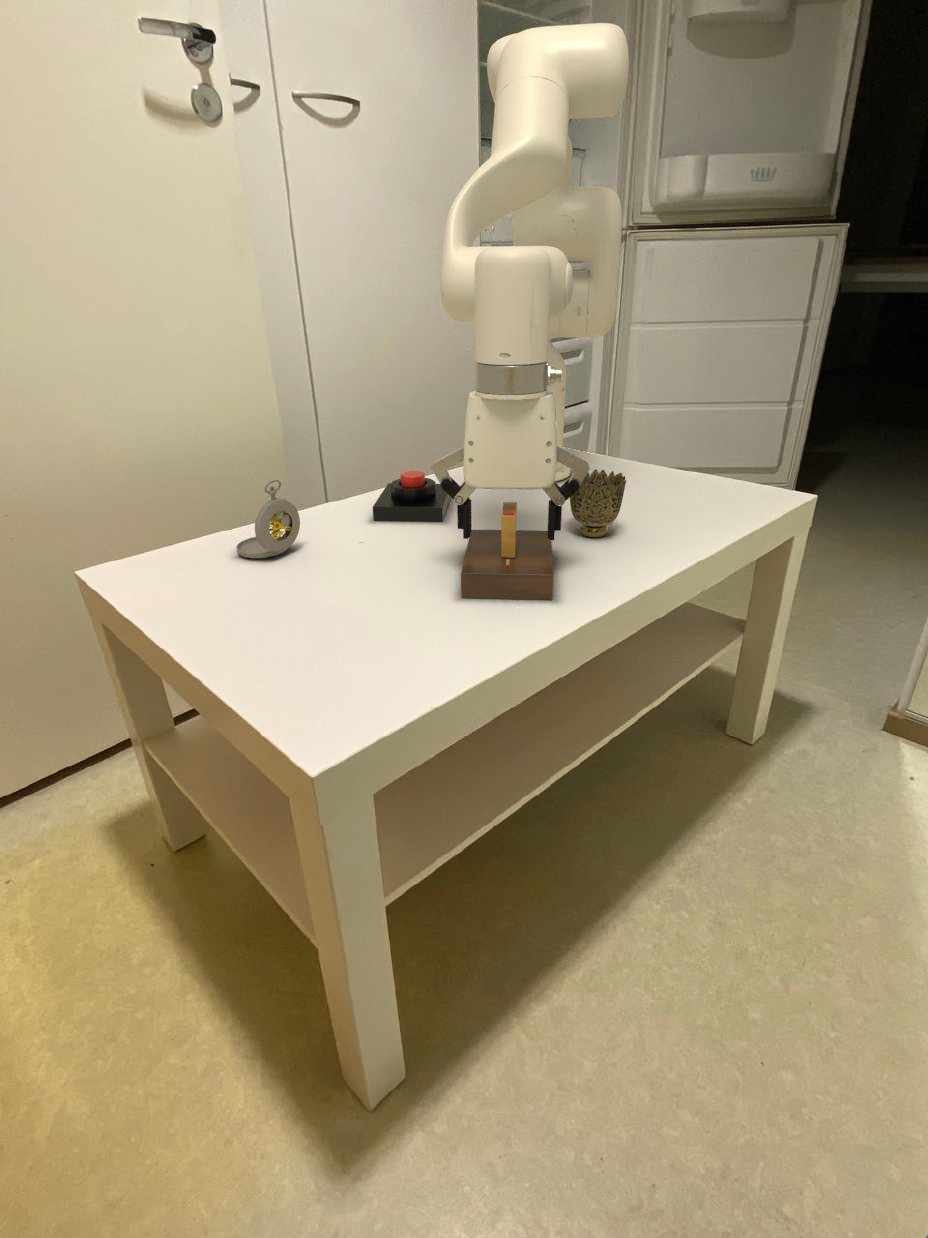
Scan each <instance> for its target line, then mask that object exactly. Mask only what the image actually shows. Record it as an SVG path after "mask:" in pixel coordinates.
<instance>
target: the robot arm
mask: <svg viewBox="0 0 928 1238" xmlns="http://www.w3.org/2000/svg"><path fill="white" fill-rule="evenodd" d="M626 37H627V36H626V35H625V33H624V30H623V29H622V28H621V27H620V26H619V25H618V24H615V23H609V22H593V23H592V22H591V23H580V24H563V25H562V24H561V25H548V26H547V25H545V26H537V27H532V28H531V27H530V28H527V29H524V30H521V31H519V32H516V33H512V34H508V35H506V36H505V35H504V36H502V37H501V38H499V39H497V40H496V41H495V42H494V43H493V44H492V45H491V46H490V48H489V51H488V53H487V58H486V59H487V60H486V72H487V81H488V86H489V90H490V93H491V96H492V101H493V104H494V112H493V123H492V124H493V125H492V136H491V151H490V152H491V153H490V157H489V158H488V159H487V160H486V161H484V163H483V164H482V165H480V166H479V167H478V169H477V170H476V171H475V172H473V174H472V175H470V177H469V179H468V180H467V181H466V182H465V184H464V185H463V186H462V187H461V189H460V190H459V192H458V194H457V195H456V197H455V199H454V200H453V202H452V204H451V206H450V209H449V211H448V214H447V216H446V219H445V225H444V231H443V239H442V241H443V242H442V249H441V260H440V261H441V262H440V271H439V272H440V273H439V290H440V291H439V292H440V299H441V303H442V305H443V308H444V310H445V312H446V314H447V315H448V316H449V317H450V318H451V319H453V320H455V321H457V322H461V323H469V324H470V323H473V324H474V361H475V362H474V384H475V386H474V389H475V390H474V391H470V392H469V394H468V398H467V404H466V411H465V412H466V413H465V423H464V435H463V437H464V438H463V440H464V441H463V445H462V446H461V447H459V448H457V449H455V450H453V451H451V452H449V453H447V454H446V455H443V456H441V457H440V458H437V459H436V460H434V461H433V463H432V464H431V470H432V473H433V474H434V476H435V478H436V479H437V482H438V483H439V484H441V488H442V489H443V490H444V491H445V492H446V493H447V494H448V495H449V496H450V497H451V499H453V502H454V503H455V505H456V510H457V530H462V539H463V540H465V539H466V540H469V538H470V534H471V530H473V528H472V527H473V526H472V499H470V498H471V495H472V494H474V492H475V491H476V489H480V490H529V491H530V490H542V491H544V493H545V494H546V495H547V496H548V498H549V500H548V510H547V531H548V539H550V540H551V541H555V535H556V534H555V532H557V531H560V532H561V531H562V513H563V512H562V511H563V506H564V504H565V503H566V501H567V500H568V499H570V497H571V496H572V495H573V494H574V493H575V492H576V491H577V490H578V489H579V486H580V485H581V483H582V482H583V480H584V478H585V477H586V475H587V473H588V472H589V473H590V464H589V463H588V461H586V460H584V459H582V458H580V457H579V456H576V455H574V454H573V453H571V452H569V451H567V450H565V449H564V433H565V432H564V431H565V412H566V411H565V409H566V391H567V390H566V389H567V388H566V387H567V367H566V366H567V365H566V362H565V360H564V357H563V356H562V355H561V353H560V352H559V350H558V349H557V348H556V347H555V345H554V344H553V343H552V339H553V340H554V339H560V338H598V337H602V336H605V335H606V334H608V333H609V332H610V331H611V329H612V327H613V326H614V323H615V319H616V312H617V303H618V289H619V276H620V275H619V274H620V261H621V246H622V245H621V244H622V233H623V231H622V230H623V212H622V210H623V209H622V203H621V200H620V196H619V195H618V193H617V192H616V191H615V190H614V189H612V188H611V187H607V186H601V185H597V186H596V185H593V186H591V185H590V186H574V185H573V180H572V173H573V155H574V153H573V149H574V148H573V143H572V140H571V138H570V136H569V126H570V125H569V123H570V120H579V119H597V118H598V119H600V118H611V117H614V116H615V115H617V114H618V113H619V112H620V109H621V108H622V106H623V103H624V100H625V96H626V94H627V88H628V83H629V81H628V80H629V72H630V58H629V57H630V55H629V54H630V53H629V46H628V40H627V38H626ZM510 214H511V234H512V245H496V246H495V245H493V246H492V245H491V246H489V245H488V246H487V245H485V246H473V245H474V242H475V241H476V239H477V238H478V237H479V236H480V234H481V233H482V232H483V231H485V229H487V228H488V227H489V226H490V225H492V224H494V223H495V222H497V221H499V220H500V219H502V218H504V217H506V216H508V215H510ZM570 262H582V263H585V264H586V265H587V266H588V268H589V269H587V270H586V269H584V270H583V269H581V270H579V269H577V270H573V265H572V264H571V263H570ZM462 462H463V479H464V481H463V482H462V483H461V484H459V483H457V482H456V480H455V479H454V478H453V477H452V476H450V473H449V471H448V469H450V468H452V467H453V466H456V465H458V464H460V463H462ZM572 471H573V472H572ZM570 473H571V474H572V476H571V477H570V479H569V478H568V477H569V475H570ZM567 478H568V479H567ZM565 479H567V480H566V481H565V482H564V483H563V484H562V485H559V483H558V481H562V480H565Z"/></svg>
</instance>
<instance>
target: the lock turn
mask: <svg viewBox="0 0 928 1238" xmlns="http://www.w3.org/2000/svg"><path fill="white" fill-rule="evenodd" d="M501 509H502V510H501V526H500V527H501V528H500V530H501V557H502V558H515V554H516V530H518V528H517V526H518V525H517V523H518V502H516V501H504V502H503V503H502V508H501Z"/></svg>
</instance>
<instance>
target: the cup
mask: <svg viewBox="0 0 928 1238" xmlns="http://www.w3.org/2000/svg"><path fill="white" fill-rule="evenodd" d="M572 474H573V473H572V472H571V473H570V475H569V476H568V477H569V478H568V480H569V479H570V477H571V476H572ZM626 485H627V479H626V475H624V474H623V472H618V473H616V474H615V473H614V470H612V471H610V473H609V475H608V473H606V471H605V469H601V471H599V470H598V469H594V470H592V472H591V473H590V471H589V472H588V473H587V475H586V477H585V478H584V480H583V482H582V483H581V485H580V486H579V489H578V490H577V491H576V492H575V493H574V494H573V495H572V496H571V497H569V503H570V510H571V511H570V512H571V514H572V516H573V518H574V520H575V521H576V522H578V523H579V524H580V527H579V530H580V533H581V534H582V535H583V536H585V537H588V538H602V537H604V536H606V534H607V532H608V530H609V527H608V525H610V524H612V523H614V521H615V520H616V519H617V517H618V516H619V514H620V511H621V507H622V503H623V498H624V495H625V490H626V489H625V488H626Z"/></svg>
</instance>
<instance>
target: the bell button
mask: <svg viewBox="0 0 928 1238" xmlns="http://www.w3.org/2000/svg"><path fill="white" fill-rule="evenodd" d="M400 478H401V486H404V487H419V486H423V485H425V478H426V473H425V472H423V471H419V470H408V471H404V472H401V473H400V477H399V479H400Z"/></svg>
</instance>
